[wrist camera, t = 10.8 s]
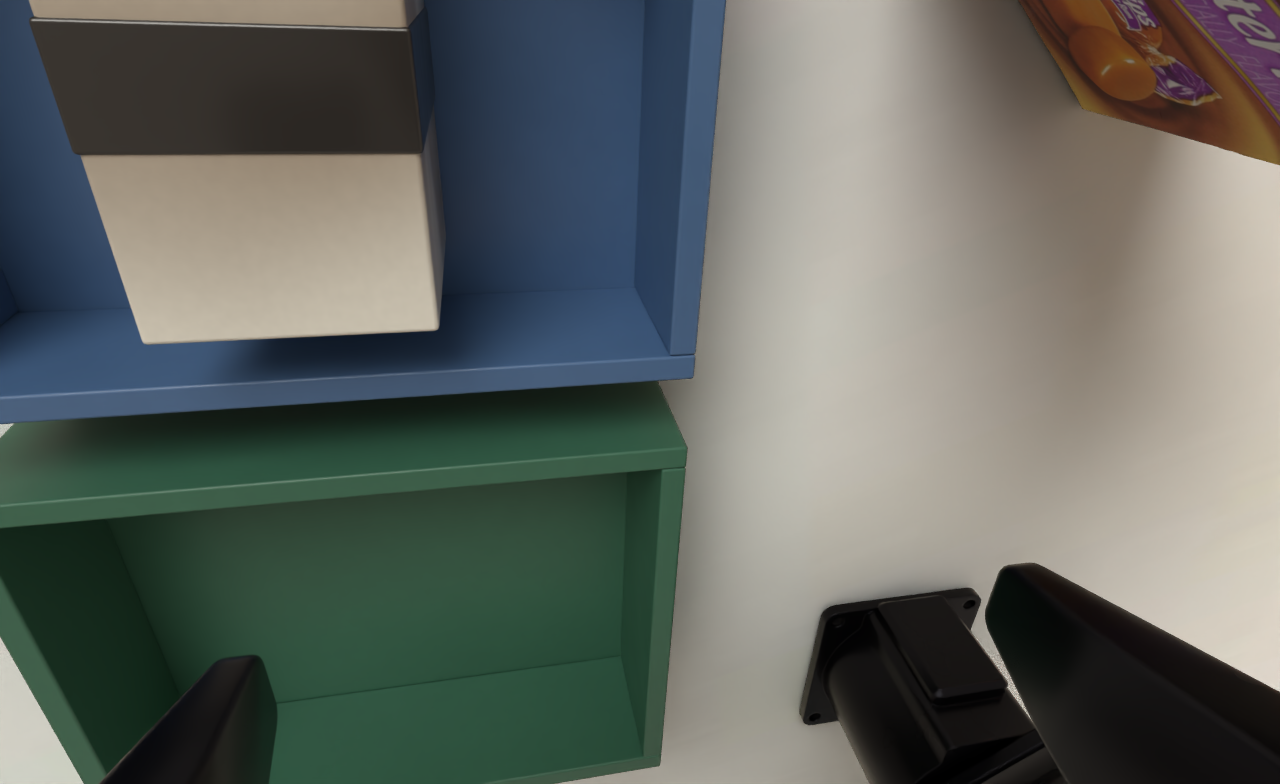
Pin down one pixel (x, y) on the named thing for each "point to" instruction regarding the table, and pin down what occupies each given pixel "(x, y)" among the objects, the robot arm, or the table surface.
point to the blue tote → (474, 222)
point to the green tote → (358, 578)
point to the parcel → (257, 160)
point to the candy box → (1173, 65)
